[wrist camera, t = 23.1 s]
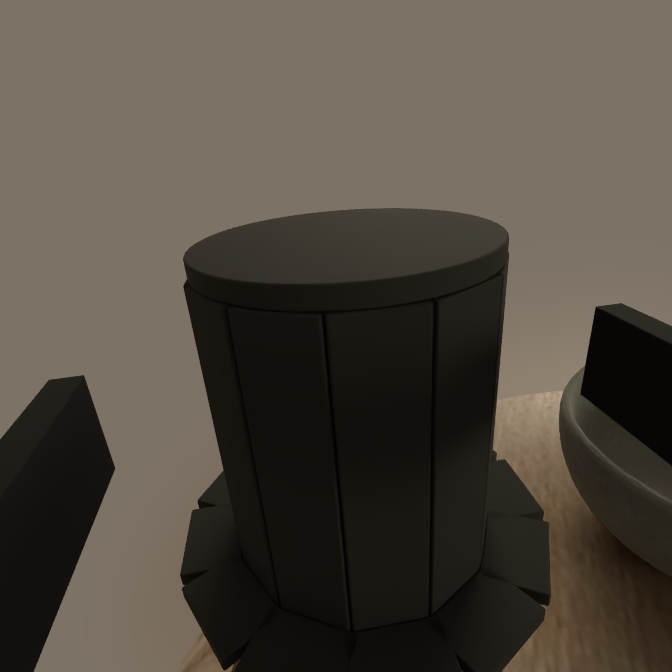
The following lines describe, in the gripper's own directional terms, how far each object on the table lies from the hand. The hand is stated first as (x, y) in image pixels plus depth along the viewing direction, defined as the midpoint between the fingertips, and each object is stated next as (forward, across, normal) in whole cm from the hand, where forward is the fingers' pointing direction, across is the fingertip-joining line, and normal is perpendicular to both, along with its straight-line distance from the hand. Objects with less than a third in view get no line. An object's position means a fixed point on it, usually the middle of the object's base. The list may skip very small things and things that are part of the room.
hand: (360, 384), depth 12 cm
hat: (+2, 0, -7) cm, 8 cm away
